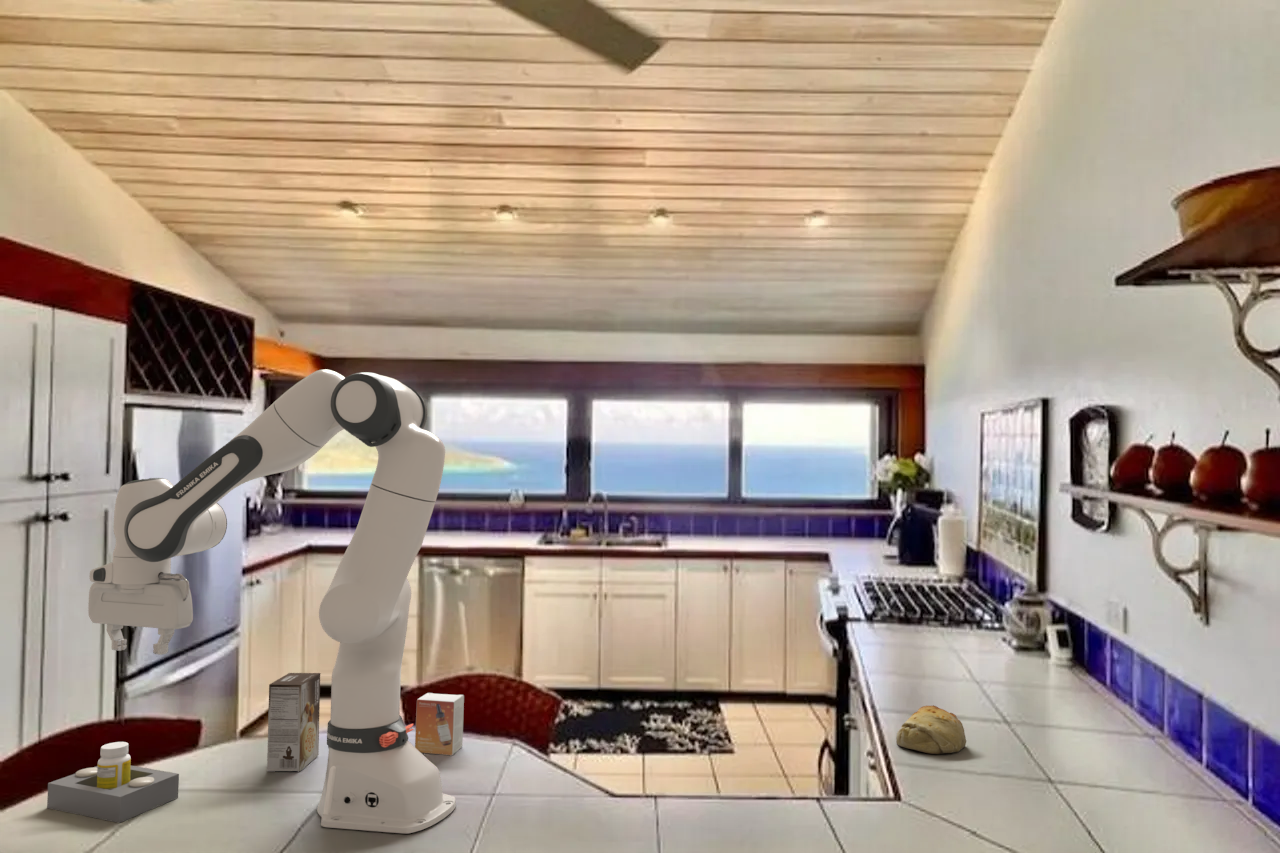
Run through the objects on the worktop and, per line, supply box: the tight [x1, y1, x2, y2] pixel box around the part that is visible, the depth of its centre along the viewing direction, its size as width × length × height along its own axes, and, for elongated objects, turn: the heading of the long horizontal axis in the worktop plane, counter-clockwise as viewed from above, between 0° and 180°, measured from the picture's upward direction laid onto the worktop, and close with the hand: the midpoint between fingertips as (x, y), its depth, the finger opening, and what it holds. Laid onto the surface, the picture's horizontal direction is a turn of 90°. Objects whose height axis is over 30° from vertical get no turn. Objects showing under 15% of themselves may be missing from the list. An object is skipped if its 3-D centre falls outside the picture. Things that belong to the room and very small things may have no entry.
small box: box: [414, 692, 465, 757], centre depth 173 cm, size 8×6×10 cm
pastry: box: [895, 705, 967, 755], centre depth 179 cm, size 14×12×8 cm
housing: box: [46, 765, 180, 824], centre depth 144 cm, size 16×11×4 cm
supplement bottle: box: [96, 741, 132, 790], centre depth 144 cm, size 5×5×8 cm
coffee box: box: [266, 672, 322, 772], centre depth 164 cm, size 9×6×16 cm
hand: (139, 651), depth 150 cm, fingers open, 8 cm apart
